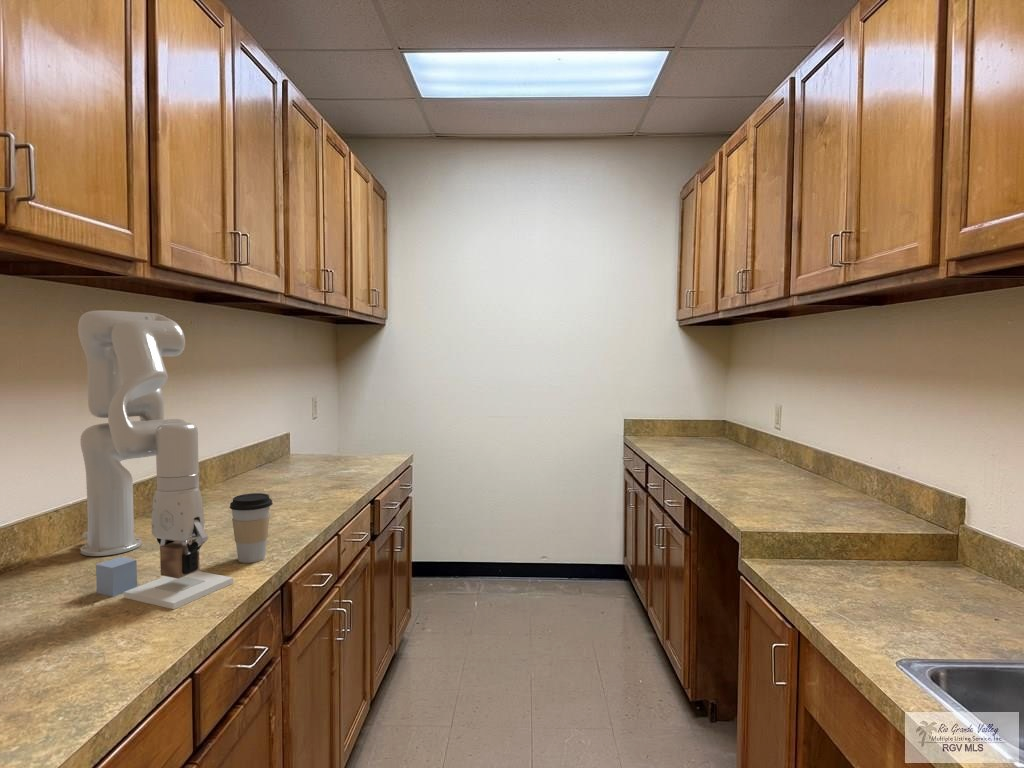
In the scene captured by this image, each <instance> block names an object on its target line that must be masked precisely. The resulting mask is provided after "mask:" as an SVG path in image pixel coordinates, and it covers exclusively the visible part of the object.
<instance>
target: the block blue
mask: <svg viewBox="0 0 1024 768" xmlns="http://www.w3.org/2000/svg"><path fill="white" fill-rule="evenodd" d="M137 567H138V566H137V559H134V558H129V557H123V556H118V557H115V558H113V559H110V560H105V561H102V562H99V563H96V564H95V576H96V577H95V578H96V580H95V581H96V583H95V584H96V594H100V595H103V596H108V597H112V598H114V597H117V596H119V594H120V595H122V594H124V592H125V591H128V590H130V589H133V588H136V587H138V570H137V569H138V568H137Z"/></svg>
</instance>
